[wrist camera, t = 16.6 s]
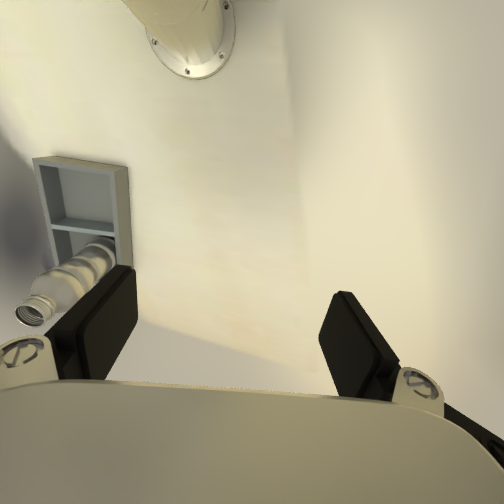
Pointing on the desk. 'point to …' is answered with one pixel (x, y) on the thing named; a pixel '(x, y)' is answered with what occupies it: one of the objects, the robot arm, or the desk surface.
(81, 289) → the plastic bottle
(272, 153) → the desk surface
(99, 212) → the grey divided tray
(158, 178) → the desk surface
